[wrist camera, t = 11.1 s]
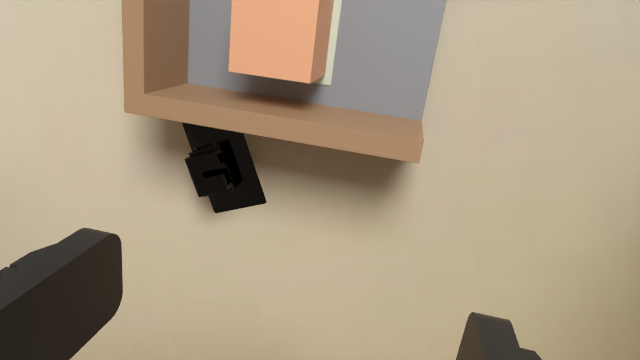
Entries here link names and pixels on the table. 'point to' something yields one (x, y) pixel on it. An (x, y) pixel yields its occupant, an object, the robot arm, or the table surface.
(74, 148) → the table surface
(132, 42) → the arena
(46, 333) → the robot arm
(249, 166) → the black notched block
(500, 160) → the table surface
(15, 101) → the table surface
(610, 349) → the table surface
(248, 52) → the cube
